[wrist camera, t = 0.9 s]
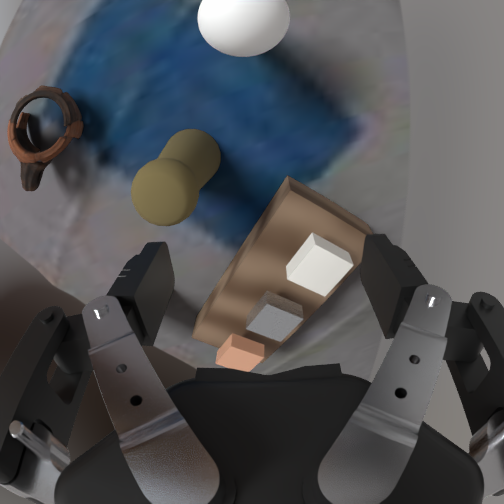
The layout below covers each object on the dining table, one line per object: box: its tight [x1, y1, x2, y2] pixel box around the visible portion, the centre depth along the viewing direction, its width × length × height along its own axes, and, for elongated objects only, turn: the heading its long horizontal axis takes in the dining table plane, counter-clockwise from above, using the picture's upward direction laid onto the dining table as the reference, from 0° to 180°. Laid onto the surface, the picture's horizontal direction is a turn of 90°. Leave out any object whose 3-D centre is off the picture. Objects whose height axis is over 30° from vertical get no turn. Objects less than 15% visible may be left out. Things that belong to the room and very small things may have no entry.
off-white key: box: [286, 232, 353, 297], centre depth 27 cm, size 4×4×2 cm
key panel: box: [192, 175, 373, 363], centre depth 36 cm, size 24×11×4 cm, turn 151°
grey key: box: [246, 290, 304, 342], centre depth 31 cm, size 4×4×2 cm
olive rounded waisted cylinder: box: [131, 129, 221, 226], centre depth 24 cm, size 6×6×11 cm
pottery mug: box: [8, 86, 84, 191], centre depth 25 cm, size 12×10×8 cm
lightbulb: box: [198, 0, 290, 57], centre depth 17 cm, size 6×6×11 cm
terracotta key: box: [216, 333, 264, 372], centre depth 35 cm, size 4×4×2 cm
